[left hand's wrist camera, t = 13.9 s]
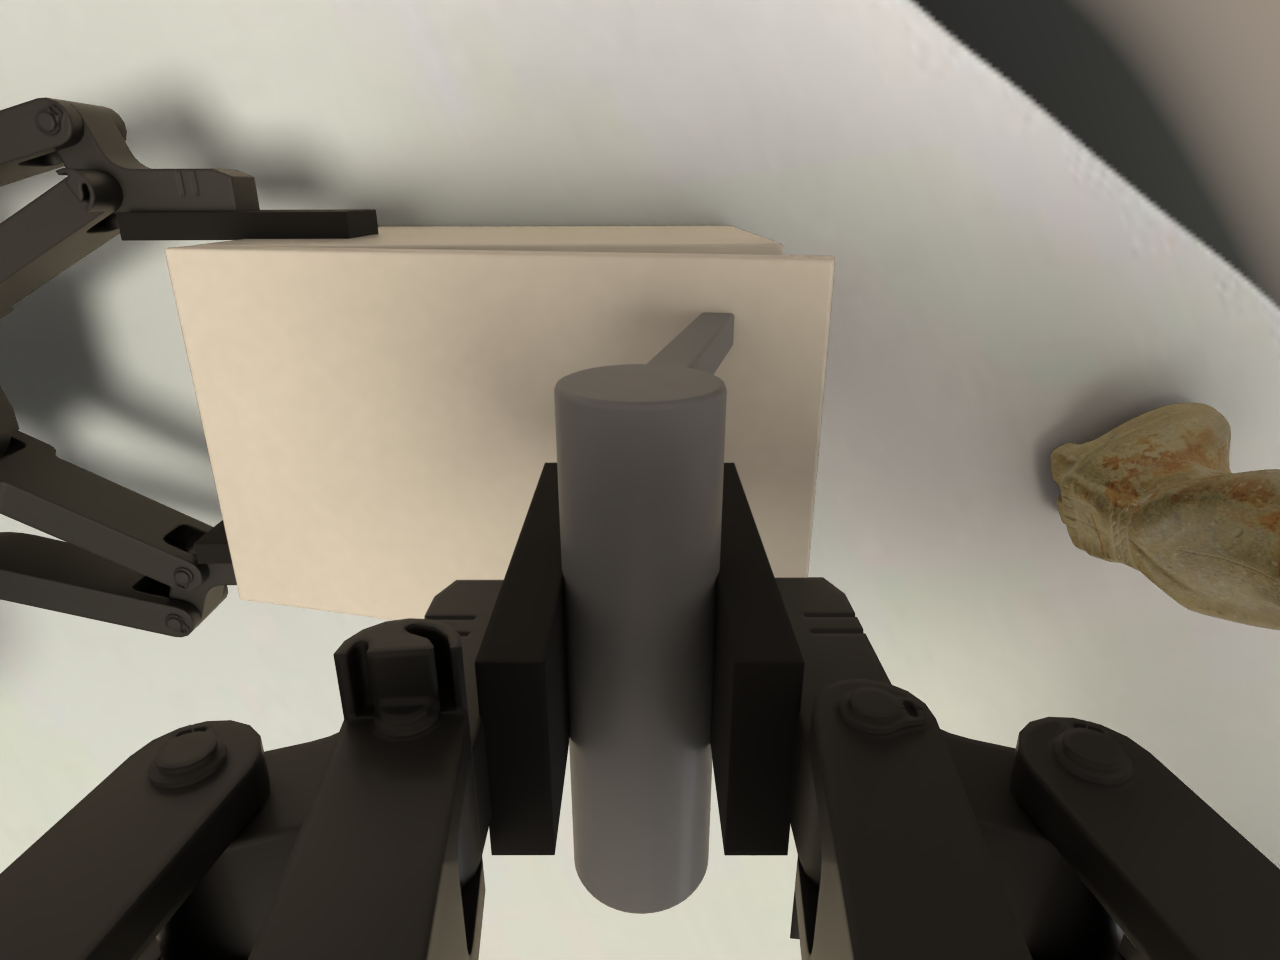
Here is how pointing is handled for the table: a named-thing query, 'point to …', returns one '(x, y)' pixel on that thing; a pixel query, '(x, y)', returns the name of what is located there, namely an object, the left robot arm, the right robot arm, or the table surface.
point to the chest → (546, 239)
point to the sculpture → (1178, 511)
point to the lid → (524, 471)
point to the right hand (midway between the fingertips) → (384, 391)
